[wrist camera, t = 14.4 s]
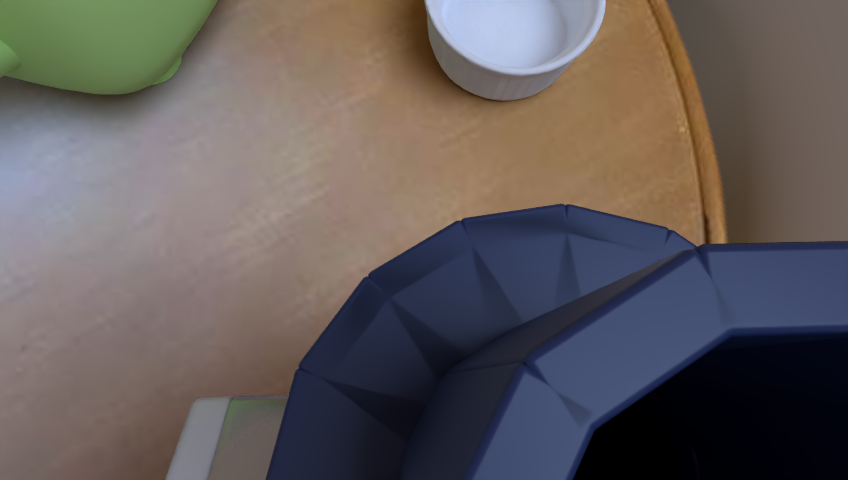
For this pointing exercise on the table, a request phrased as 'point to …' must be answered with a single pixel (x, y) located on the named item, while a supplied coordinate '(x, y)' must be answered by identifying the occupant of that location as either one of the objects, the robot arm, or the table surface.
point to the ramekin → (510, 42)
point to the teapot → (97, 41)
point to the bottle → (578, 359)
